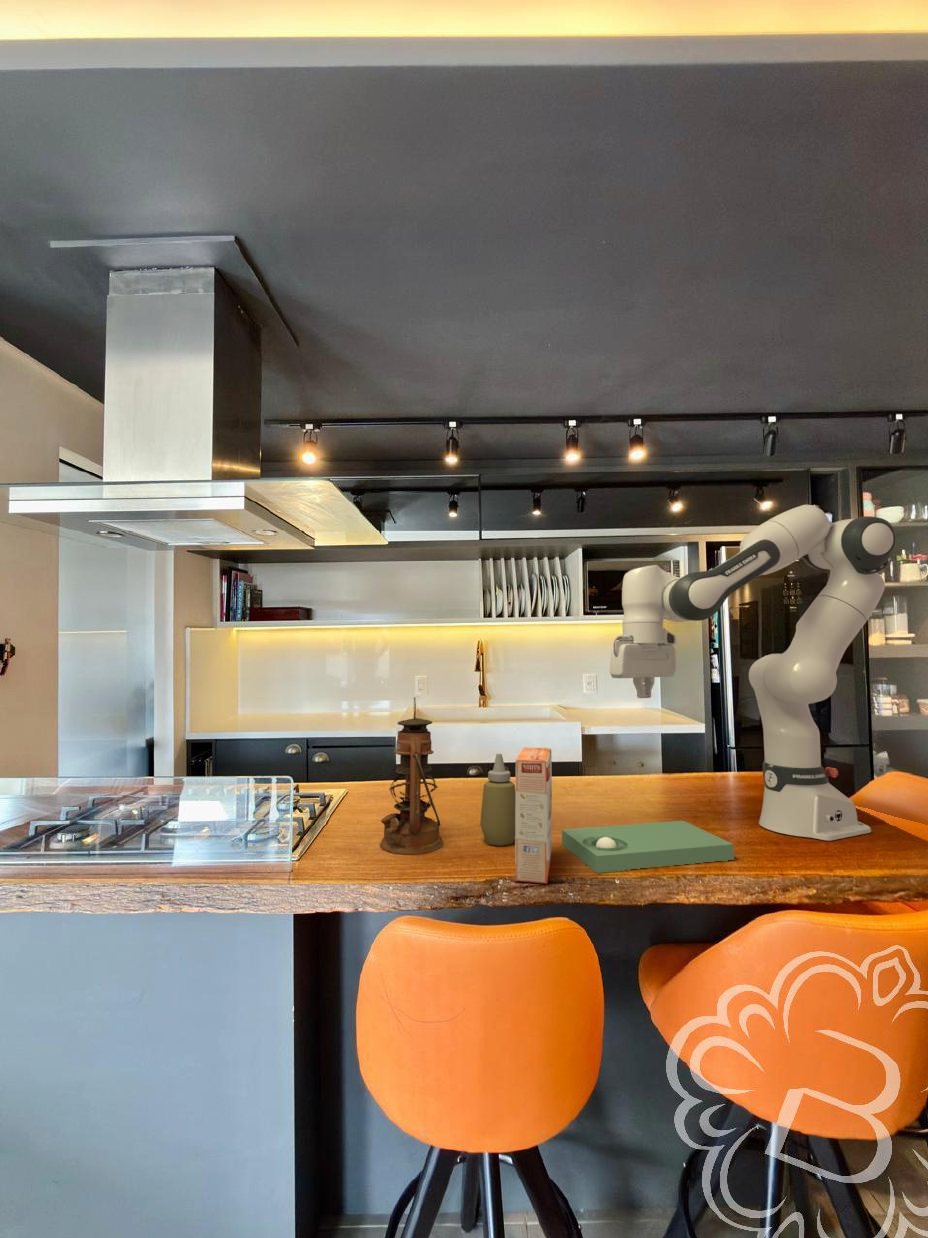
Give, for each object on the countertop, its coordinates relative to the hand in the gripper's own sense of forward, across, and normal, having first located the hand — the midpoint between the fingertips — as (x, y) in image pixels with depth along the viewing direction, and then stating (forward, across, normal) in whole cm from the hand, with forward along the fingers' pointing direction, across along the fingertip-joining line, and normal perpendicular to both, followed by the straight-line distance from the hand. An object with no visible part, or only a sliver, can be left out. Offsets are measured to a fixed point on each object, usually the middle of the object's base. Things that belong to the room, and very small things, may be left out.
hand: (644, 698), depth 128 cm
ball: (+27, -21, -6) cm, 35 cm away
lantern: (+29, -46, +25) cm, 60 cm away
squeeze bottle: (+29, -31, +14) cm, 45 cm away
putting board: (+29, -12, -8) cm, 33 cm away
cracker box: (+29, -36, -1) cm, 46 cm away
